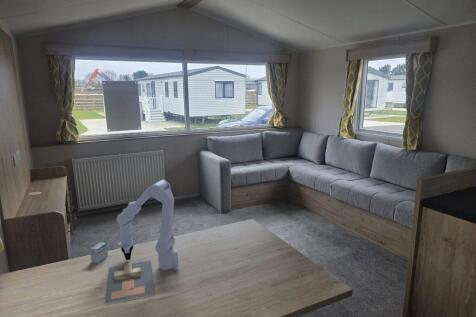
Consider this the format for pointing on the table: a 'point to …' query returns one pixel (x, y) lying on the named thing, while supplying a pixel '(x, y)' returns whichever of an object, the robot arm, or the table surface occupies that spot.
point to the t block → (127, 272)
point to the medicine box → (98, 252)
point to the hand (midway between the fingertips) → (128, 259)
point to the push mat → (130, 283)
